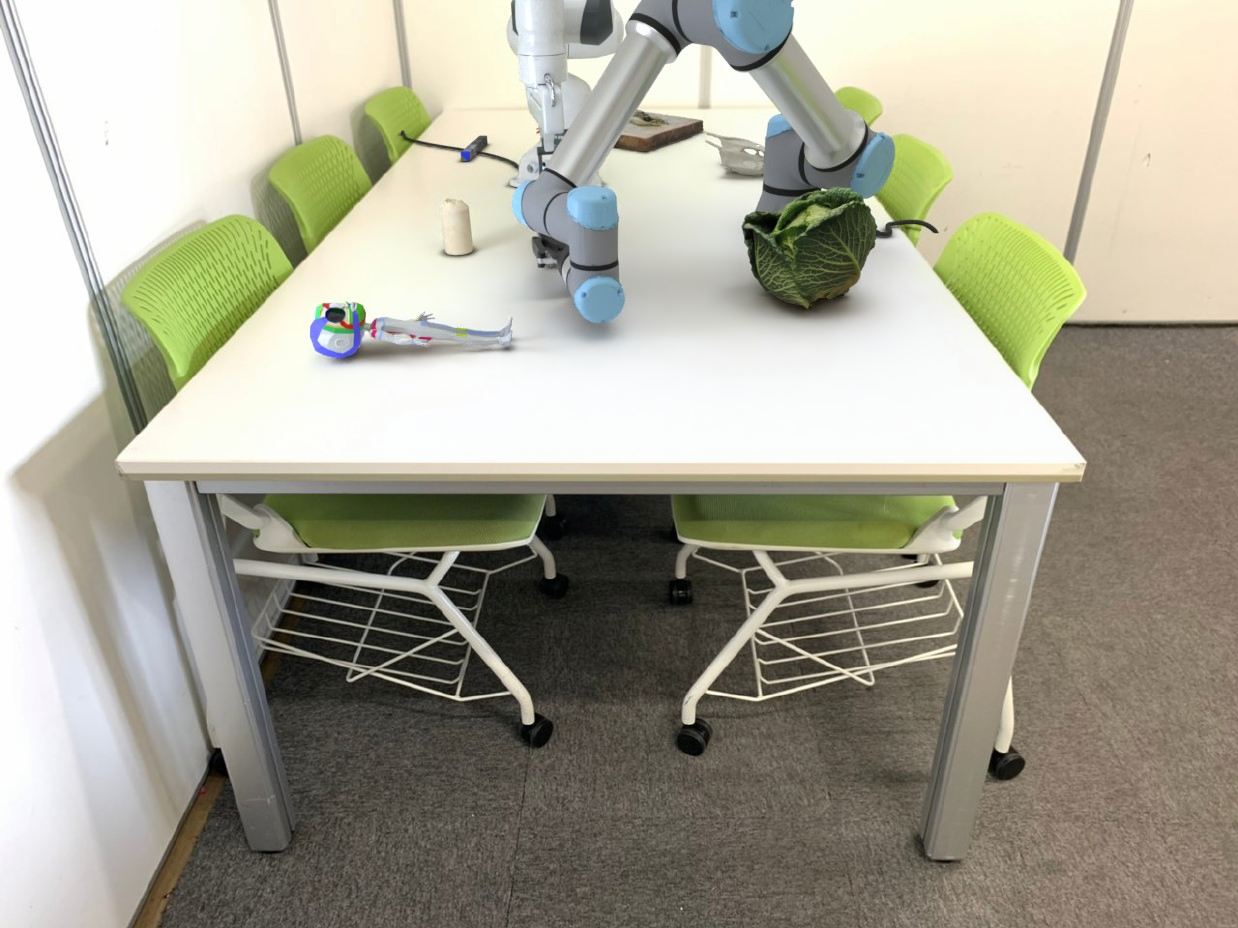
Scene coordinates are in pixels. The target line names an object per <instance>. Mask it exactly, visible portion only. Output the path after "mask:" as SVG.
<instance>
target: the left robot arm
mask: <svg viewBox="0 0 1238 928" xmlns="http://www.w3.org/2000/svg"><path fill="white" fill-rule="evenodd" d="M510 11H511V15H510V16H509V19H508V21H507V24H506V31H505V32H506V40H507V42H508V43H507V44H508V46H509V48H510V50H511V52H513V54H514V55H515V56H516V57H517V64H518V77H519V82H520V83H522V84H523V83H524V90H525V96H526V102H527V108H528V111H529V114H530V115H531V116H532V118H533V119H534V121H535V122H536V123H537V125H538V127H537V128H535V130H536V132H535V133H536V134H539V136H540V138H539V141H538V142H536V143H535V144H534V145H533V146H532V147H530V149H529V150H527V151H526V152H525V153H524V154H523V155H522V156H521V157H520V158H519V159H520V160H519V164H518V163H517V162H515V161H513V160H511V159H509V158H506V157H504V156H502V155H497V154H494V153H490V152H486V151H482V150H481V151H477V154H476V155H481V156H486V157H489V158H490V157H491V158H494V159H499V160H501V161H504V162H507V163H509V164H512V165H513V166H514V167H515V168H516V169H517V170H518V174H516V175H514V176H513V177H512V178H511V179H510V180H509V186H511V187H514V188H517V187H518V186H519V185H521V184H522V183H524V182H525V181H528V180H537V179H538V177H539V165H538V155H537V150H536V148H537V147H541V146H543V148H544V150H545V151H546V152H550V151H553V150H554V146H556V145H557V146H558V145H559V143H560V142H561V140H562V139H563V137H564V135H565V134H566V132H567V131H568V129H569V127H570V126H571V124H572V122H573V121H574V119H575V118H576V116H577V114H578V113H579V111H580V110H581V108H582V106H583V105H584V103H585V101H586V100H587V98H588V97H589V95H590V93H591V92H592V90H593V89H592V88H591V86H590V85H589V83H588V82H587V81H586V80H584V79H583V78H581V77H579V76H577V75H575V74H573V73H571V72H569V71H568V70H569V69H568V60H578V59H579V60H584V59H585V60H586V59H598V58H602V57H606V56H607V57H608V56H609V55H613V54H614V55H615V53H616V51H617V50H618V48H619V46H620V45H621V43H622V42H623V40H624V37H625V24H624V22H623V21H624V20H623V18H622V16H621V14H620V12H619V11H618V10H617V8H615V6H614V1H613V0H511V2H510ZM400 135H401V136H402V137H403V138H404V139H405V140H406V141H409V142H412V143H417V144H421V145H424V146H430V147H435V148H439V149H446V150H454V151H460V152H462V151H463V150H464V149H465V148H463V147H458V146H451V145H444V144H439V143H433V142H427V141H423V140H418V139H414V138H411V137H408V136H407V134H406V133H405V130H403V129H402V130H401V131H400ZM552 155H553V154H552ZM552 155H542V164H543V170H544V168H545V166H546V164H547V163H548V161H549V160H550V158H551V156H552ZM600 177H601V176H600V173H599V171H598V172H597V174H596V176H595V177H594V179H593V180H592V182H591V184H590V185H589V186H598V187H603V183H602V180H601V178H600Z"/></svg>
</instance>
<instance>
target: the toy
mask: <svg viewBox="0 0 1238 928" xmlns="http://www.w3.org/2000/svg"><path fill="white" fill-rule="evenodd" d="M344 302H345V303H343V302H323V303H321V304H319V305H318V306H317V307H316V308H315V310H314V313H313V315H312V317H311V320H310V322H309V323H308V335H307V336H308V339H309V340H310V343H311V344H312V347H313V349H314V351H315V352H317V353H318V354H320V355H323V356H325V357H328V358H329V357H330V358H335V359H343V360H344V359H345V358H347V357H350V356H352V355H354V354H355V353H356V352H357V350H359V348H360V347H361V345H362V340H363V338H364V337H365V332H368V334H369V336H370V338H372V339H374V340H383V341H385V342H389V343H393V344H396V345H402V346H403V345H404V346H405V345H406V346H407V345H416V346H422V347H425V348H429V346H431V344H430V343H428V342H430V341H432V340H436V341H446V342H447V341H448V342H456V343H457V342H458V343H462V344H465V345H467V346H471V347H472V346H473V347H477V346H478V347H480V346H481V347H482V346H490V345H491V346H492V345H501V346H503V347H506V348H508V347H510V344H511V342H513V341H512V340H513V330H512V325H513V317H512V316H510V318H509V321H508V323H507V325H506V326H505V327H503V328H502V329H500V330H489V331H488V330H478V329H471V328H464V327H454V326H450V325H447V324H443V323H436V322H431V321H429V320H436V317H430V316H433V313H430V314H427V315H425V314H426V311H423V312H422V313H420V314H419V315H418V317H417V318H412V319H407V320H404V319H397V318H393V317H389V316H380V317H375V318H374V319H373V320H372V322H371V323H370V322H366V321H367V319H366V318H367V312H366V310H365V309H366V308H365V307H364V305H363V304H361V303H359V302H356V301H352V302H351V303H350V302H348V301H346V300H345V301H344ZM399 335H406V336H408V337H405V336H404V337H403V336H399ZM409 337H410V338H409Z"/></svg>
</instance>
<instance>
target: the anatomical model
mask: <svg viewBox="0 0 1238 928" xmlns="http://www.w3.org/2000/svg"><path fill="white" fill-rule="evenodd" d="M705 135H706V136H710V137H714V138H717V139H718V140H719V141H720V145H721V146H720V145H719V144H716V143H714V142H712V141H710V140H707V139H705V143H707V145H710V146H712V147H714V148H716V149H717V150H718V154H719V156H720V166H721V167H725V169H726V170H727V171H729V172H736V173H737V174H739V175H742V176H760V175H763V173H764V155H765V145H762V144H760V143H758V142H754V141H752V140H750V139H745V138H741V137H737V136H727V135H726V136H725V135H721V134H717V133H714V132H709V131H708V132H706V134H705ZM746 150H754V151H755V154H751V153H749V152H748V151H746ZM761 152H762V154H763V155H761V154H760V153H761Z"/></svg>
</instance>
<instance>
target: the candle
mask: <svg viewBox="0 0 1238 928" xmlns="http://www.w3.org/2000/svg"><path fill="white" fill-rule="evenodd" d="M470 213H471V212H470V206H469V205H468V204H467V203H466V202H464V201H463V200H462V199H456V198H446V200H444V202H443V203H442V204H441V206H440V207H439V214H440V215H439V216H440V223H441V230H442V231H441V232H442V238H443V239H442V240H443V247H444V252H445V254H447V255H451V256H463V255H467V254H470V253H472V252H473V250H474V244H473V243H474V242H473V233H472V225H471V224H472V223H471V215H470Z"/></svg>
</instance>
